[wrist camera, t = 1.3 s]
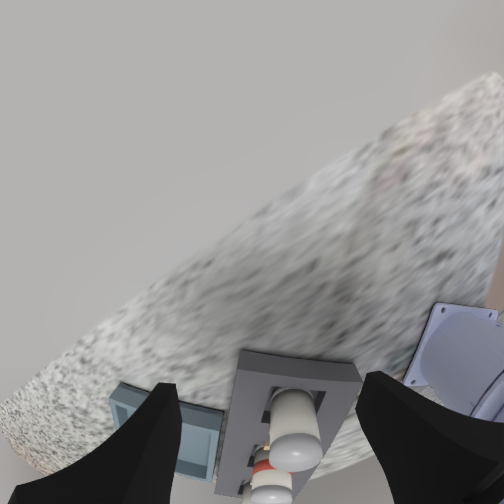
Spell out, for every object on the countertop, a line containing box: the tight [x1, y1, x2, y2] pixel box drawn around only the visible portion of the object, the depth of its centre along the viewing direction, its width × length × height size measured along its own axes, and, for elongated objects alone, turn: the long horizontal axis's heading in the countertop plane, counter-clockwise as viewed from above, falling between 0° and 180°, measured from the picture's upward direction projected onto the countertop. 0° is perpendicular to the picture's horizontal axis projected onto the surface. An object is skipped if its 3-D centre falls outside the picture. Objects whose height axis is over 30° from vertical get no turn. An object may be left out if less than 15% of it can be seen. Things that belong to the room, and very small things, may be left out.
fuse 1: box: [241, 480, 252, 504], centre depth 18 cm, size 3×3×6 cm
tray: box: [109, 383, 224, 482], centre depth 20 cm, size 10×10×2 cm
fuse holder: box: [214, 350, 363, 502], centre depth 19 cm, size 9×20×3 cm, turn 171°
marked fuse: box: [250, 444, 292, 504], centre depth 17 cm, size 3×3×6 cm
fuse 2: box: [269, 386, 323, 472], centre depth 15 cm, size 3×3×6 cm
